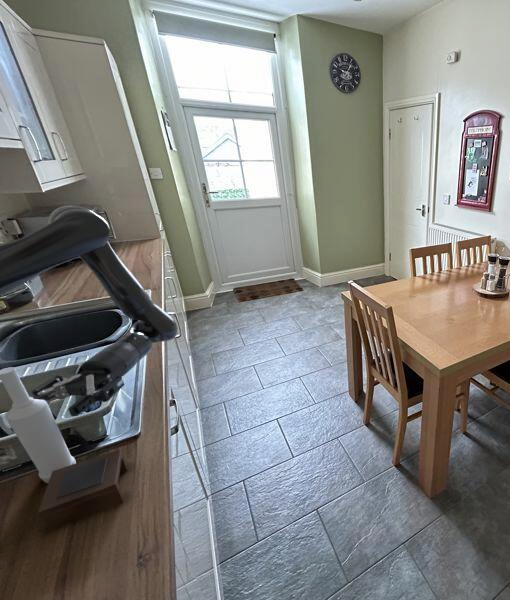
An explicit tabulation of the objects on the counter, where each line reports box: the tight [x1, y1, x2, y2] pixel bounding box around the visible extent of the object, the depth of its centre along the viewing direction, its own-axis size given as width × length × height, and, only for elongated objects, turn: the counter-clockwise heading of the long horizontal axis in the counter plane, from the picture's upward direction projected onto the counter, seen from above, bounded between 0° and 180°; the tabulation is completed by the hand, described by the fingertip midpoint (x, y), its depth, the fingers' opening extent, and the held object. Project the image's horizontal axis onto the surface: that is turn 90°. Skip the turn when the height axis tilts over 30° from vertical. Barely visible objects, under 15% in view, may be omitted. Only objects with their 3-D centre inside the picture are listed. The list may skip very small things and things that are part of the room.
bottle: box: [0, 366, 77, 484], centre depth 61 cm, size 5×5×25 cm
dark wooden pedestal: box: [37, 448, 129, 531], centre depth 61 cm, size 10×9×5 cm
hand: (48, 412), depth 63 cm, fingers open, 8 cm apart
